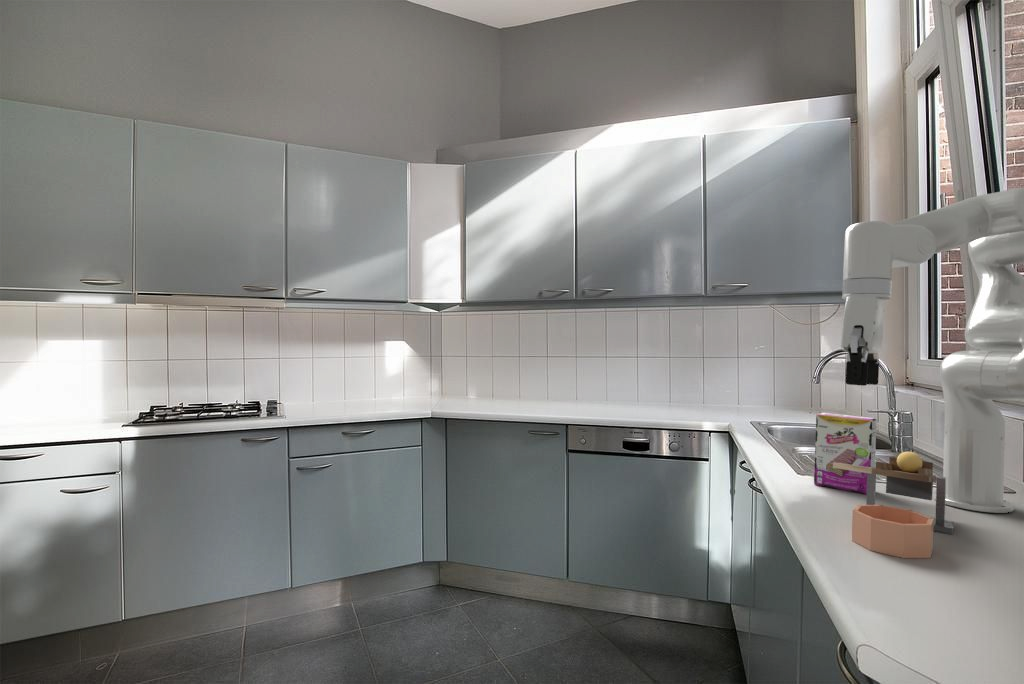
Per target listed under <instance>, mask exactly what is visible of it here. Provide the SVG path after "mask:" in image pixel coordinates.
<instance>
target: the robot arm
mask: <svg viewBox="0 0 1024 684" xmlns="http://www.w3.org/2000/svg"><path fill="white" fill-rule="evenodd" d="M843 245H844V246H843V248H844V249H843V266H842V267H843V269H842V270H843V271H842V272H843V273H842V289H841V290H842V293H841V294H842V296H841V299H842V300H844V301H845V305H844V309H843V310H844V313H843V318H842V331H841V341H840V348H841V350H842V351H844V352H847V355H846V362H845V365H846V366H845V384H846V385H852V386H867V385H873V386H874V385H875V386H876V385H878V384H879V375H880V372H879V371H880V362H879V361H880V357H879V352H881V351H882V348H883V336H884V335H883V334H884V312H885V310H884V308H885V307H884V306H885V305H884V302H885V300H891V299H892V284H893V269H896V268H897V269H898V268H903V267H904V268H905V267H912V266H913V267H915V266H917V265H921V264H923V263H925V262H927V261H928V260H930V259H931V258H932V257H933V256H934V254H939V253H940V254H941V253H944V252H948V251H952V250H954V249H958V248H959V247H962V246H964V245H967V252H968V256H969V258H970V261H971V264H972V266H973V268H974V271H975V274H976V277H977V278H978V279H977V280H978V284H979V290H978V293H977V296H976V299H975V301H974V303H973V307H972V309H971V312H970V315H969V317H968V320H967V322H966V325H965V328H964V340H965V343H967V344H968V345H969V346H970V347H971V348H973V349H971V350H960V351H959V350H958V351H955V352H953V353H950V354H948V355H947V356H945V357H944V358H943V360H942V361H941V363H940V365H939V378H940V383H941V389H942V392H943V393H942V394H943V403H944V426H943V429H944V432H943V433H944V434H943V464H942V465H943V470H942V471H943V473H942V477H946V493H945V505H947V506H951V507H954V508H959V509H963V510H969V511H974V512H981V513H993V514H1008V512H1009V513H1012V512H1014V510H1015V509H1014V504H1013V503H1011V502H1010V501H1007V500H1005V499H1004V492H1005V491H1004V488H1005V487H1004V485H1005V484H1004V482H1005V448H1006V447H1005V445H1006V444H1005V443H1006V442H1005V441H1006V439H1005V438H1006V421H1005V417H1004V415H1003V413H1002V412H1001V410H1000V409H999V407H998V406H997V405H996V403H995V402H994V401H993V400H1005V401H1017V402H1024V276H1023V275H1022V274H1021V273H1020V272H1019V271H1017V270H1016V269H1015V268H1014V266H1013V265H1016V264H1024V187H1017V188H1016V187H1015V188H1011V189H1007V190H1001V191H997V192H991V193H987V194H982V195H977V196H973V197H969V198H966V199H962V200H961V201H957V202H954V203H952V204H949V205H946V206H943V207H940V208H937V209H936V208H935V209H934V210H929V211H927V212H923V213H920V214H917V215H914V216H911V217H908V218H904V219H902V220H898V221H894V222H892V223H889V222H888V221H882V220H881V221H880V220H870V221H869V220H868V221H861V222H855V223H853V224H850V225H849V226H848V227H847V228H846V230H845V232H844V244H843ZM974 349H976V350H974ZM932 499H934V500H935V501H936V491H934V492H933V494H932Z"/></svg>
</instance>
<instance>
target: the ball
mask: <svg viewBox="0 0 1024 684" xmlns="http://www.w3.org/2000/svg"><path fill="white" fill-rule="evenodd" d="M896 458H897V465H898V466H899V468H900V469H901V470H903V471H905V472H908V473H914V472H917V471H918V468H921V467H922V461H923V460H922V458H921V456H919V455H918V454H917V453H916V452H912V451H903V452H901V453H900V454H899V455H898V456H897V457H896Z"/></svg>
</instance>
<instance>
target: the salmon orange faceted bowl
mask: <svg viewBox="0 0 1024 684" xmlns="http://www.w3.org/2000/svg"><path fill="white" fill-rule="evenodd" d="M933 518H934V517H930V516H927V515H925V514H921V513H920V512H917V511H915V510H912V509H907V508H900V507H894V506H888V505H885V504H875V505H866V504H857V505H856V506H855V507H854V508H853V509H852V526H851V528H852V529H851V531H852V532H851V541H852V542H854V543H855V544H858V545H860V546H861V547H863V548H865V549H867V550H869V551H870V552H874V553H876V552H877V553H880V554H883V555H889V556H893V557H898V558H902V559H931V557H932V554H933V550H934V531H933V520H934V519H933Z"/></svg>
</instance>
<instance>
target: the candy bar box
mask: <svg viewBox="0 0 1024 684" xmlns="http://www.w3.org/2000/svg"><path fill="white" fill-rule="evenodd" d="M815 417H816V418H815V426H816V427H815V443H814V445H815V446H814V447H815V448H814V449H815V450H814V470H813V471H814V472H813V473H814V475H813V480H814V481H813V485H816V486H819V487H820V486H821V487H822V486H823V487H827V488H832V489H836V490H842V491H849V492H854V493H858V494H864V495H867V473H864V472H857V471H851V470H844V469H837V468H833V462H835V463H843V464H850V465H857V466H864V467H876V447H877V418H875V417H867V416H857V415H856V416H855V415H849V414H839V413H831V412H819V413H817V414H816V416H815Z"/></svg>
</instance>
